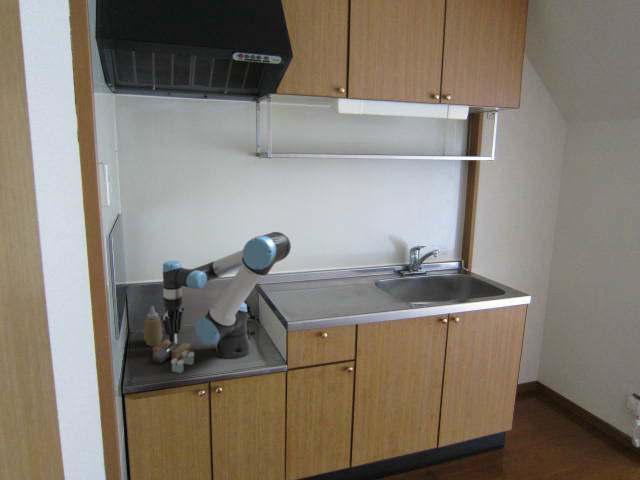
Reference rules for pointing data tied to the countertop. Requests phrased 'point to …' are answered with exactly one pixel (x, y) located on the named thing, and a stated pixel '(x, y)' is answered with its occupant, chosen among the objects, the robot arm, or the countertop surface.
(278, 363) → the countertop surface
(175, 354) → the wooden bars with cylinder
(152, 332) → the squeeze bottle
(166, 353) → the dark grey rounded block
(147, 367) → the countertop surface
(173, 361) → the cradle
